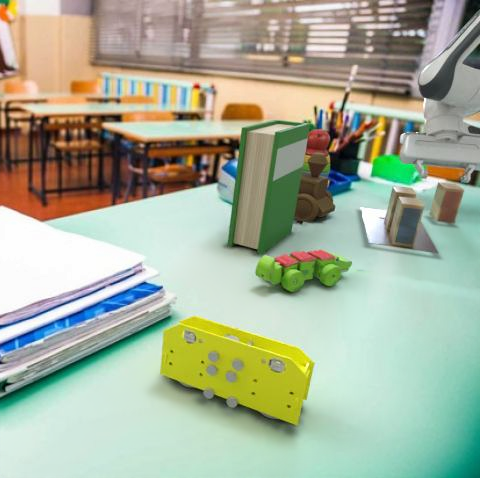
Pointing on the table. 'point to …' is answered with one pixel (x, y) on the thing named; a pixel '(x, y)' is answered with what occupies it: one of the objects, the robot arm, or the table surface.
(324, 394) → the table surface
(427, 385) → the table surface
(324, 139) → the stacking bear
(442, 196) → the tile
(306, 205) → the wooden toy train
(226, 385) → the yellow toy chassis
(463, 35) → the robot arm
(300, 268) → the toy crocodile
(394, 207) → the tile
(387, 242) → the word board
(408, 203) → the tile
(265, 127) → the hardback book
